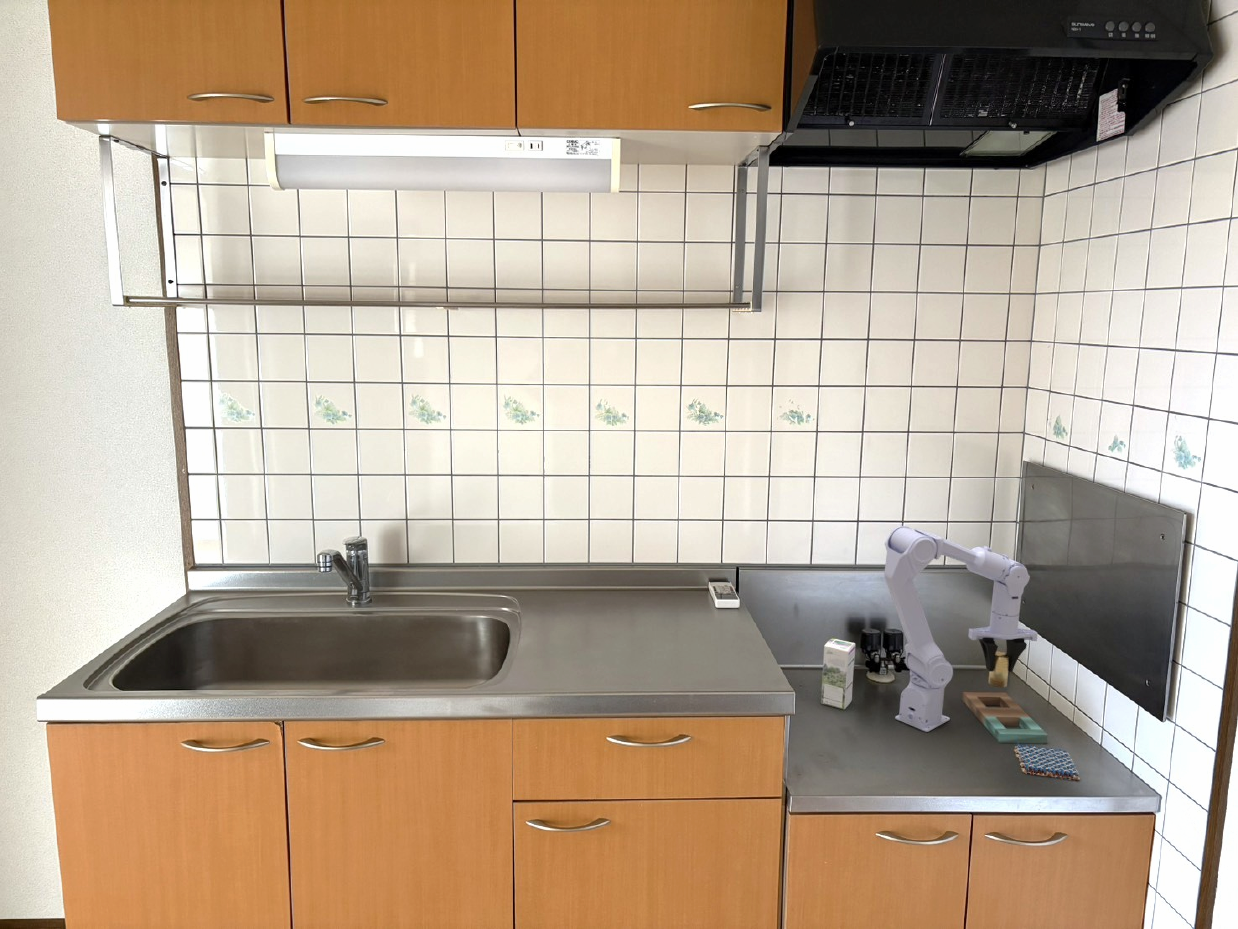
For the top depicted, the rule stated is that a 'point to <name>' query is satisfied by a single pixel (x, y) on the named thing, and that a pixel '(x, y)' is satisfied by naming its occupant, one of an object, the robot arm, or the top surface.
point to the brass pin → (1000, 670)
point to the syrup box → (837, 673)
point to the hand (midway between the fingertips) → (999, 669)
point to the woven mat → (1046, 762)
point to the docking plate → (1004, 718)
